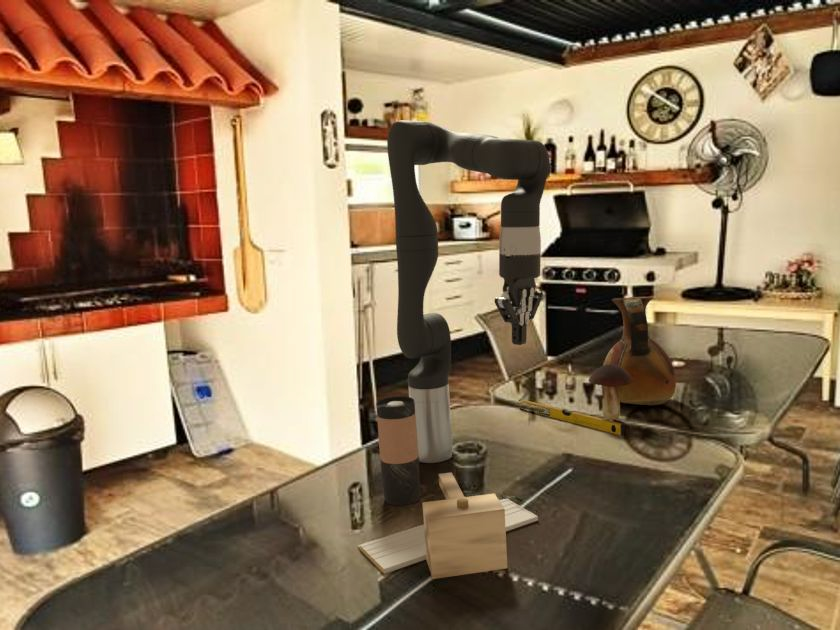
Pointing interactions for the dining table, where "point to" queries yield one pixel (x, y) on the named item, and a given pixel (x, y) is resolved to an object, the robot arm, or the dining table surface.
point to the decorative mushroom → (611, 387)
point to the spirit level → (580, 418)
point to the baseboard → (411, 542)
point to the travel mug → (398, 450)
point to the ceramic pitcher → (641, 358)
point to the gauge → (464, 532)
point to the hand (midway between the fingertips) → (518, 343)
